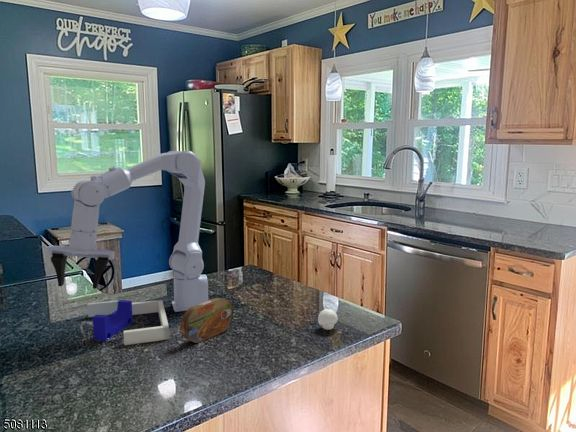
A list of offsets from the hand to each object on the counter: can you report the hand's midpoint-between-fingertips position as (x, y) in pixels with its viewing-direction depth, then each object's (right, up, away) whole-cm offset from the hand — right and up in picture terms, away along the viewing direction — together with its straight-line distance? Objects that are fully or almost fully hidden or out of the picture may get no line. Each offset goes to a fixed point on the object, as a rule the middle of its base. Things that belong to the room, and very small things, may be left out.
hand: (78, 286), depth 105 cm
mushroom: (+60, -12, +5) cm, 62 cm away
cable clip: (+7, -12, +3) cm, 14 cm away
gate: (+1, -10, +13) cm, 16 cm away
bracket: (+14, -11, +6) cm, 19 cm away
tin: (+31, -12, 0) cm, 34 cm away
